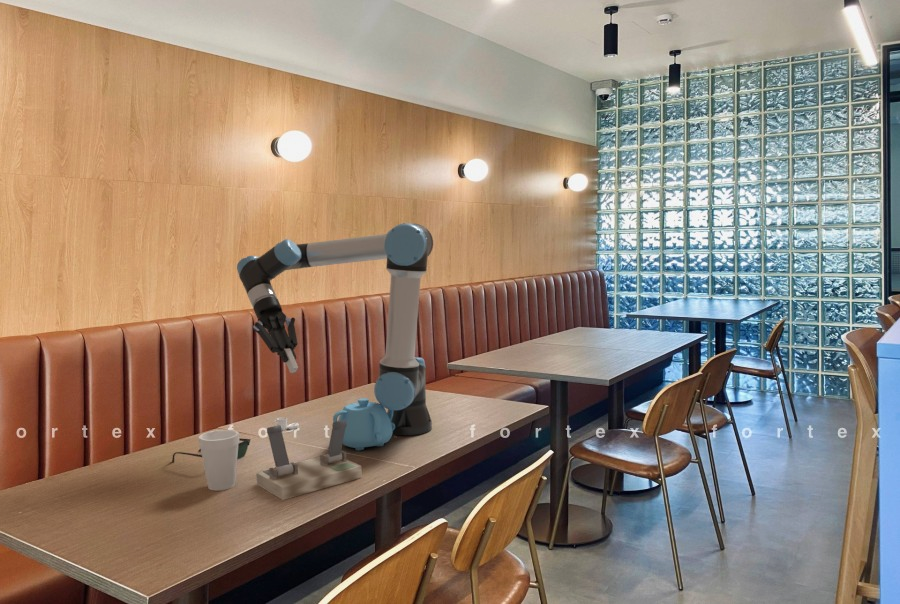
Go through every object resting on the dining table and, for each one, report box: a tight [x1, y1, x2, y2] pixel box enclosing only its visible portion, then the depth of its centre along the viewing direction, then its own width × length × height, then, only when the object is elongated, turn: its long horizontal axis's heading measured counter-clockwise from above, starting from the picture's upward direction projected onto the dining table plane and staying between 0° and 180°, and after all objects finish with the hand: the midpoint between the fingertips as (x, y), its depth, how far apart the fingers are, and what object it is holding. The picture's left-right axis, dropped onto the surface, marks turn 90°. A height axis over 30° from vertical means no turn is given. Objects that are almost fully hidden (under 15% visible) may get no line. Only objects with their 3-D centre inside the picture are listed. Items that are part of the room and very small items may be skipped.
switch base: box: [255, 449, 363, 501], centre depth 176 cm, size 22×14×5 cm, turn 130°
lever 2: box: [324, 420, 347, 463], centre depth 178 cm, size 4×2×12 cm, turn 130°
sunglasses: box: [171, 437, 251, 463], centre depth 194 cm, size 16×17×5 cm
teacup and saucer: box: [272, 416, 300, 434], centre depth 223 cm, size 9×8×4 cm
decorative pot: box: [332, 398, 395, 451], centre depth 205 cm, size 16×16×14 cm
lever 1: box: [266, 425, 293, 477], centre depth 172 cm, size 4×2×12 cm, turn 130°
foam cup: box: [198, 429, 240, 492], centre depth 173 cm, size 10×9×13 cm
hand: (294, 370), depth 196 cm, fingers closed
